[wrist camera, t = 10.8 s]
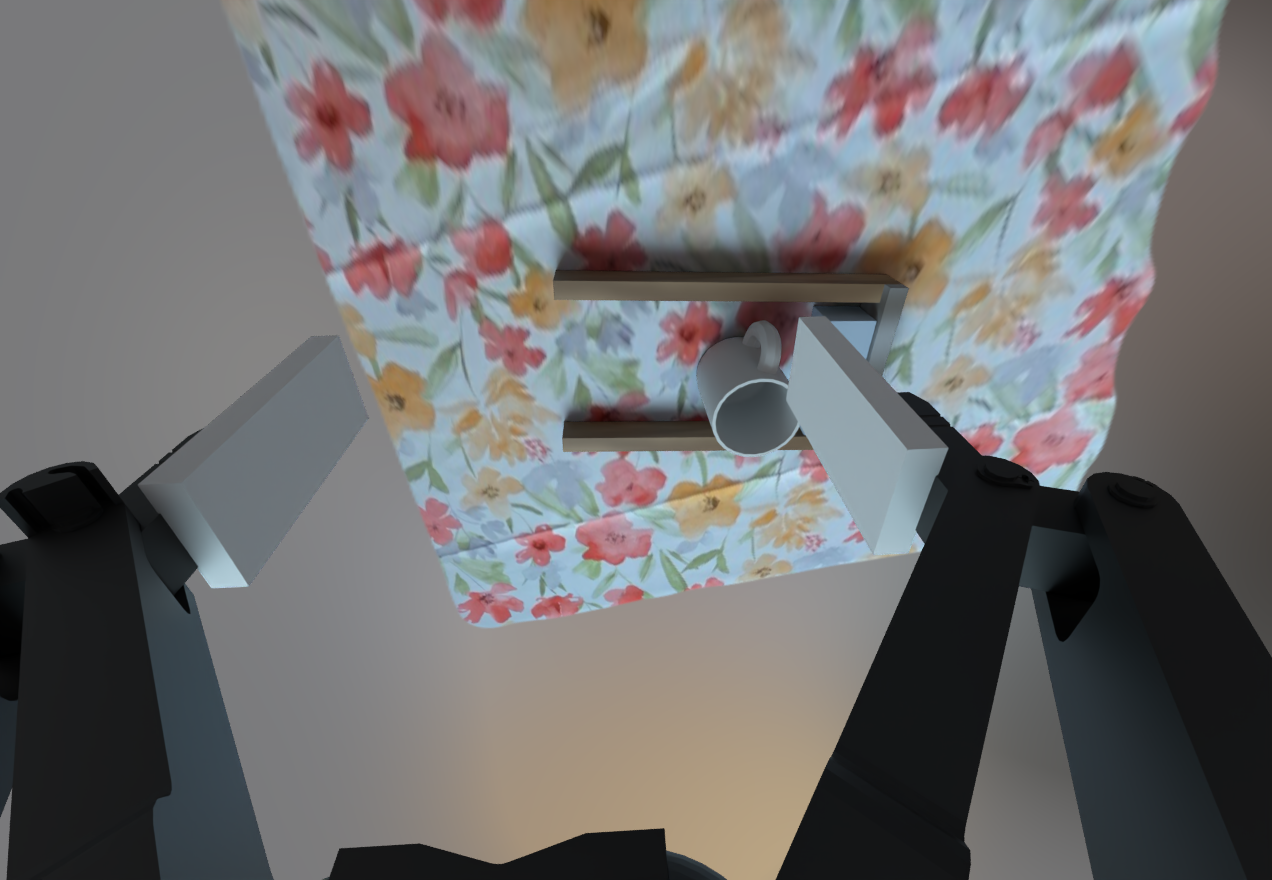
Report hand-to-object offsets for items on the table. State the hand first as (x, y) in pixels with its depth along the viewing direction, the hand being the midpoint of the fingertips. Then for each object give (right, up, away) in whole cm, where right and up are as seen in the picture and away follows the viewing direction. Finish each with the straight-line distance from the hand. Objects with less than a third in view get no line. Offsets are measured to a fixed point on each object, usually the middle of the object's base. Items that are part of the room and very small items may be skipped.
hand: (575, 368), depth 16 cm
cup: (+11, +6, +33) cm, 35 cm away
